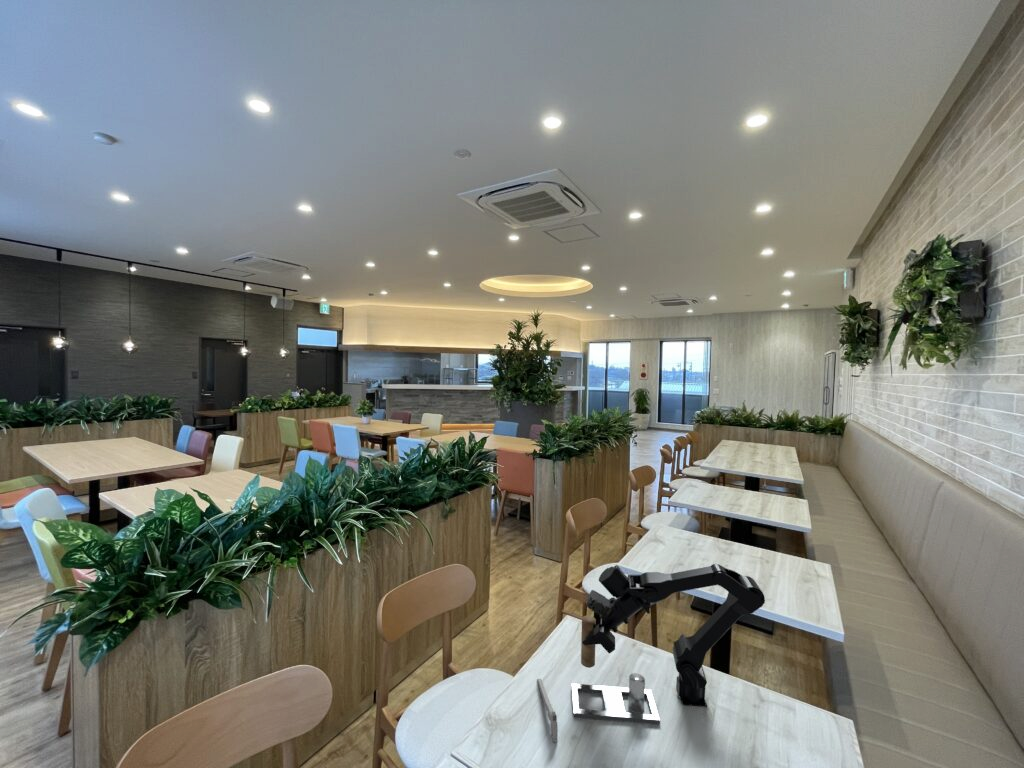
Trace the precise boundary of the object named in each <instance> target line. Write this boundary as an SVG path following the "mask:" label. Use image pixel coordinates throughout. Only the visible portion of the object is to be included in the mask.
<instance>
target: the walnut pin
mask: <svg viewBox="0 0 1024 768" xmlns="http://www.w3.org/2000/svg"><path fill="white" fill-rule="evenodd" d="M593 623H594V624H595V625H596V619H595V618H594V617H593V616H592V615H584V616H582V618H581V640H580V642H581V643H580V645H581V648H580V663H581V665H582V667H585V668H589V669H590V668H593V667H594V666H595V665H596V644H594V645H584V644H583V643H582V641H583V640H584V639H585V638H586V637H587V636H588V634H589V633H590V632H591V631H592V630H593Z"/></svg>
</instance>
